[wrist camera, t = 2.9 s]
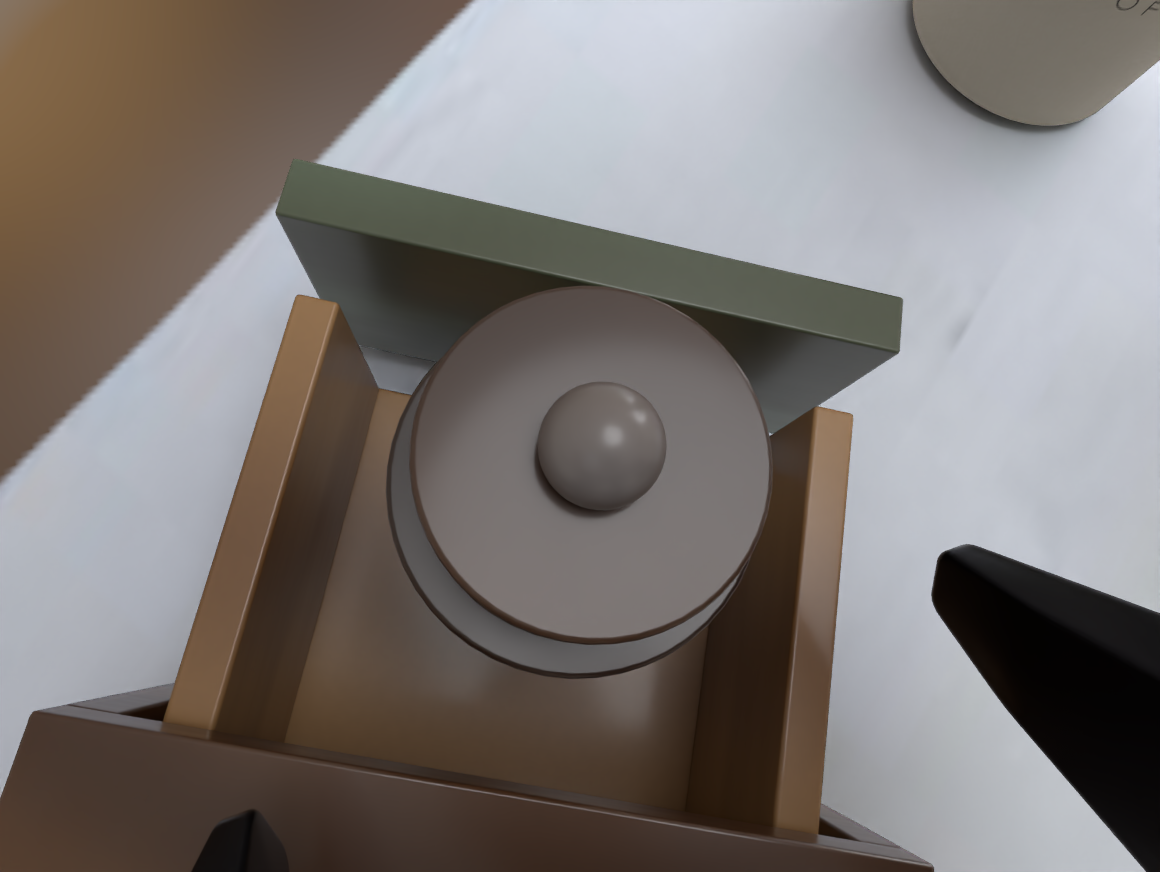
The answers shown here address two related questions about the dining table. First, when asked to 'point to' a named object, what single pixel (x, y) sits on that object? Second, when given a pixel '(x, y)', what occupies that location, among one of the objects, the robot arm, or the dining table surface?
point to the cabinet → (353, 810)
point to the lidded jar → (580, 482)
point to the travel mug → (1040, 52)
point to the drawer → (388, 598)
